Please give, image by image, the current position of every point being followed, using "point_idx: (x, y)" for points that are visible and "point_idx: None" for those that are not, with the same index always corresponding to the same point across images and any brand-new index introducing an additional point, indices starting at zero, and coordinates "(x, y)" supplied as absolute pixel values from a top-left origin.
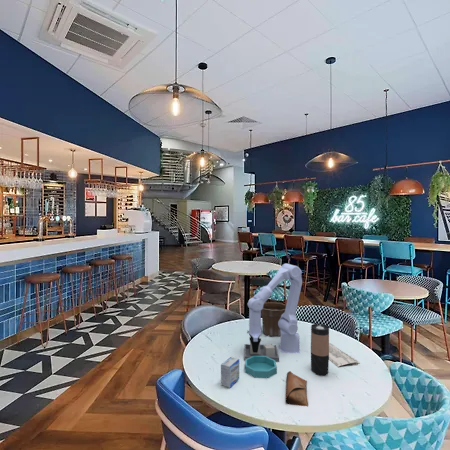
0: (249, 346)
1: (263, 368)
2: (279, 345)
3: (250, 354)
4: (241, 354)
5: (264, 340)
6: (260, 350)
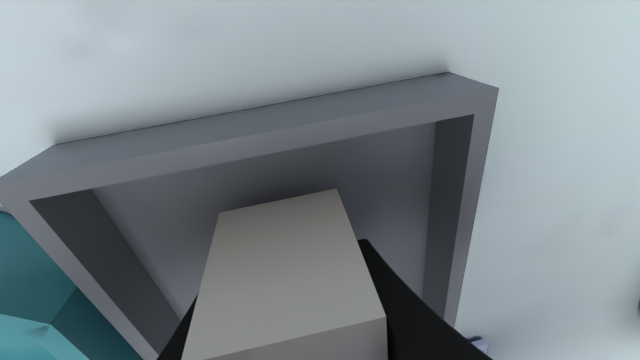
0: (450, 162)
1: (9, 352)
2: (486, 347)
3: (272, 189)
4: (263, 56)
5: (618, 238)
6: (393, 260)
